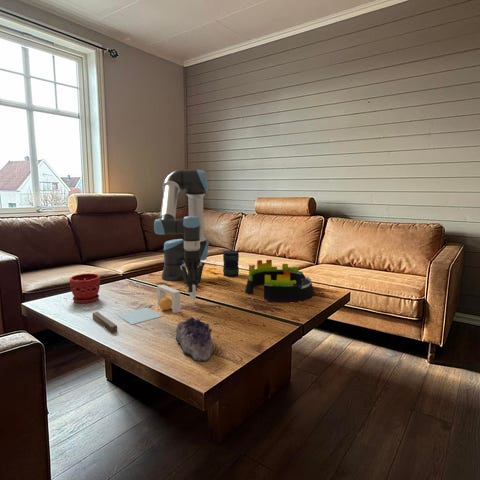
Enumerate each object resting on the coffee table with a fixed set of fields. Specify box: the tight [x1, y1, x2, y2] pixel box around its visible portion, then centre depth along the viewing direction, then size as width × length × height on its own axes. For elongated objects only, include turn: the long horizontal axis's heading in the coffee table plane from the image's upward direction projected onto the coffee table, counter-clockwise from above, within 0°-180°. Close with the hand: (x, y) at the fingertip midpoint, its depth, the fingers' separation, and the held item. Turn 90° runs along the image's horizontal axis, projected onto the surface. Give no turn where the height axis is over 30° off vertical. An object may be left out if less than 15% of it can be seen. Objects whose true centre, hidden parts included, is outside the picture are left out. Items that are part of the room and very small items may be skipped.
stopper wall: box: [92, 311, 118, 334], centre depth 135 cm, size 2×20×2 cm, turn 42°
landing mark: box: [117, 307, 163, 326], centre depth 145 cm, size 14×14×1 cm
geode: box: [175, 317, 214, 363], centre depth 115 cm, size 20×12×10 cm, turn 25°
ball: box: [158, 297, 172, 311], centre depth 152 cm, size 6×6×6 cm
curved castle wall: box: [244, 259, 316, 304], centre depth 179 cm, size 37×37×15 cm
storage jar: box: [222, 250, 240, 278], centre depth 214 cm, size 10×10×15 cm
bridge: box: [157, 284, 182, 314], centre depth 154 cm, size 3×14×9 cm, turn 42°
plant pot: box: [69, 273, 101, 304], centre depth 164 cm, size 13×13×12 cm
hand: (192, 298), depth 163 cm, fingers closed
